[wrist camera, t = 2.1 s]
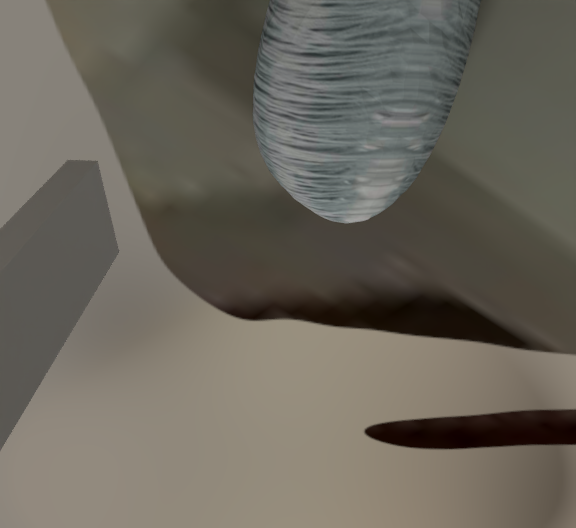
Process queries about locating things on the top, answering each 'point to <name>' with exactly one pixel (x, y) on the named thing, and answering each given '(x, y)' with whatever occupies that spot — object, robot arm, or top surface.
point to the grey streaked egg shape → (356, 96)
